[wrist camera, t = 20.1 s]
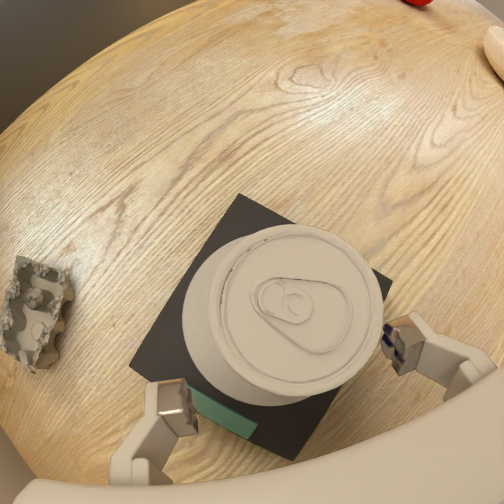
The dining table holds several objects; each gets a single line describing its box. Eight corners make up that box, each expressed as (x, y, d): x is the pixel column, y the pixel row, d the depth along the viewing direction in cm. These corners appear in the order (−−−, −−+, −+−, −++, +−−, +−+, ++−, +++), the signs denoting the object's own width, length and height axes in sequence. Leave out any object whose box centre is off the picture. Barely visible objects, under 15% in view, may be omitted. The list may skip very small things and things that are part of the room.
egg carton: (56, 377, 25) (33, 380, 21) (10, 346, 25) (-13, 344, 21) (83, 281, 27) (62, 272, 24) (35, 259, 28) (14, 248, 24)
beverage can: (311, 353, 23) (405, 368, 8) (240, 371, 22) (230, 421, 8) (293, 284, 24) (358, 204, 10) (224, 301, 24) (189, 239, 9)
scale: (289, 452, 23) (294, 466, 20) (137, 364, 25) (123, 366, 22) (382, 285, 28) (398, 278, 24) (239, 204, 30) (238, 187, 27)
